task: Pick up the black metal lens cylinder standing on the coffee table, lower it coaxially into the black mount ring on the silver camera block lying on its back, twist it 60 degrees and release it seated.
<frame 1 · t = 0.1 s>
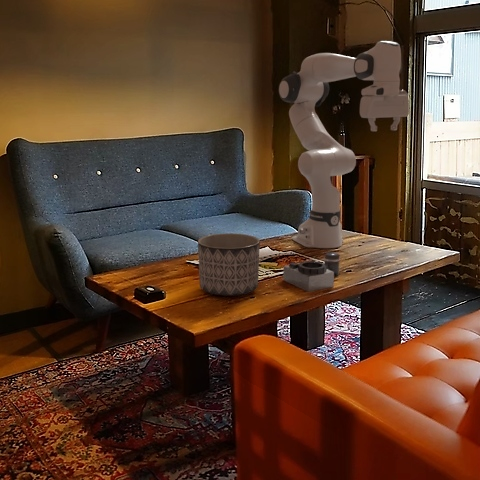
hand: (383, 130, 217), 48 cm above the table, fingers open, 8 cm apart
camera body: (308, 283, 205), on the table
planter: (229, 291, 198), on the table
lens: (331, 274, 214), on the table
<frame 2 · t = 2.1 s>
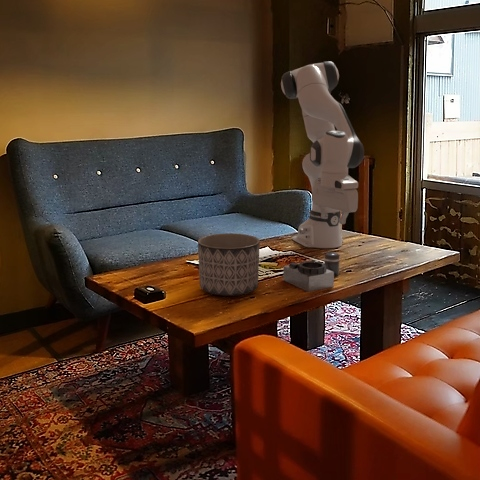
hand: (333, 221, 210), 19 cm above the table, fingers open, 8 cm apart
nothing on the table moved.
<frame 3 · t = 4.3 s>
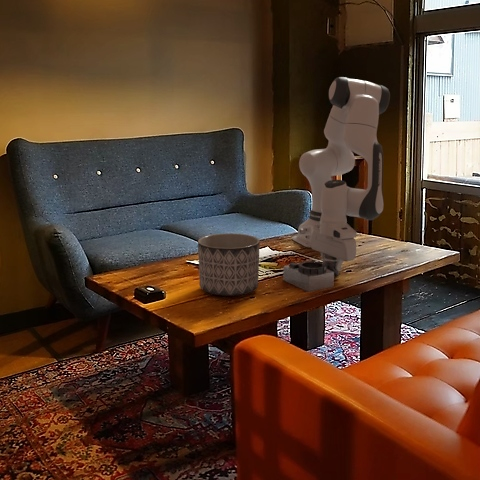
hand: (331, 267, 214), 2 cm above the table, fingers closed on lens, 5 cm apart
lens: (331, 274, 214), on the table, touching gripper
everything else where it was.
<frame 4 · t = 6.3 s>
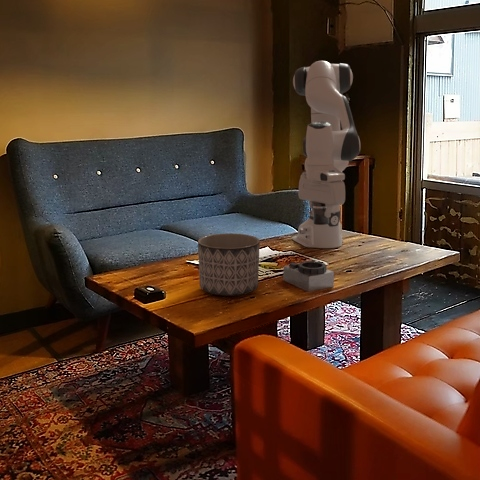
hand: (321, 215, 202), 22 cm above the table, fingers closed on lens, 5 cm apart
lens: (321, 223, 203), point 20 cm above the table, touching gripper
everything else where it was.
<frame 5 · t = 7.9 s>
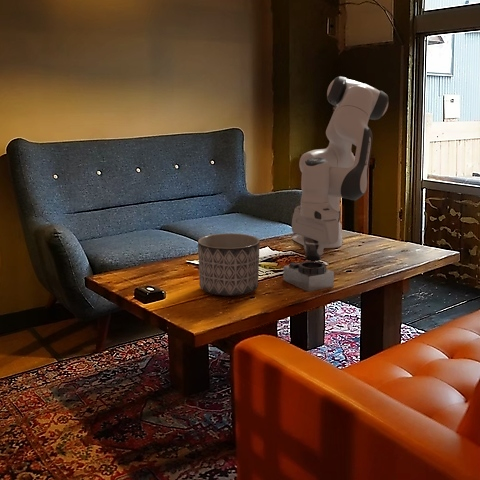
hand: (313, 252, 200), 11 cm above the table, fingers closed on lens, 5 cm apart
lens: (313, 259, 201), point 9 cm above the table, touching gripper
everything else where it was.
when the fingers open (8 cm above the table, at t = 9.3 s): lens stays where it is, resting on camera body.
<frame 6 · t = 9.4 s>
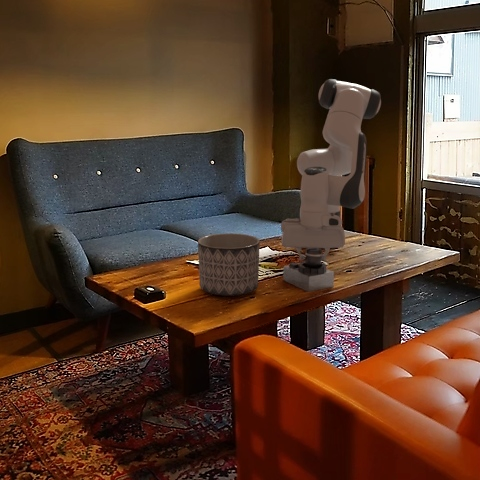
hand: (312, 260, 201), 8 cm above the table, fingers open, 5 cm apart
lens: (312, 270, 201), point 5 cm above the table, touching camera body
everything else where it was.
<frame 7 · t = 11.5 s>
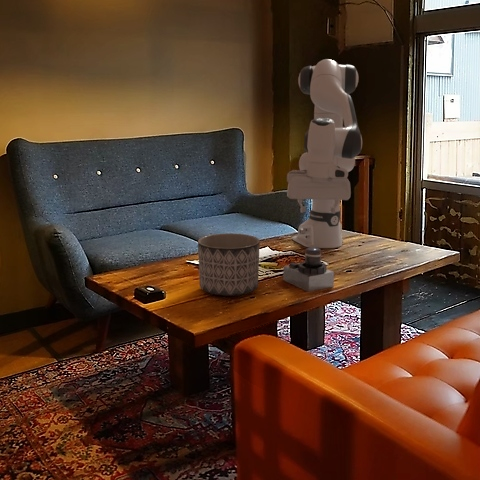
hand: (317, 212, 201), 23 cm above the table, fingers open, 8 cm apart
nothing on the table moved.
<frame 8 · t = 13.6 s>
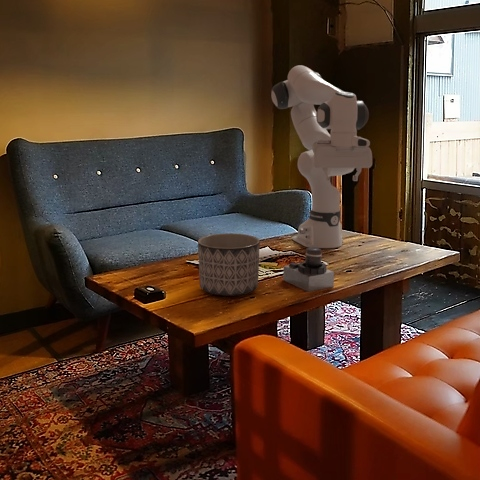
hand: (341, 180, 216), 31 cm above the table, fingers open, 8 cm apart
nothing on the table moved.
at the end: lens 0.4 cm from the target spot on the camera body, point 5.1 cm above the camera body's base; lens tilted 2°; the gripper is holding nothing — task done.
